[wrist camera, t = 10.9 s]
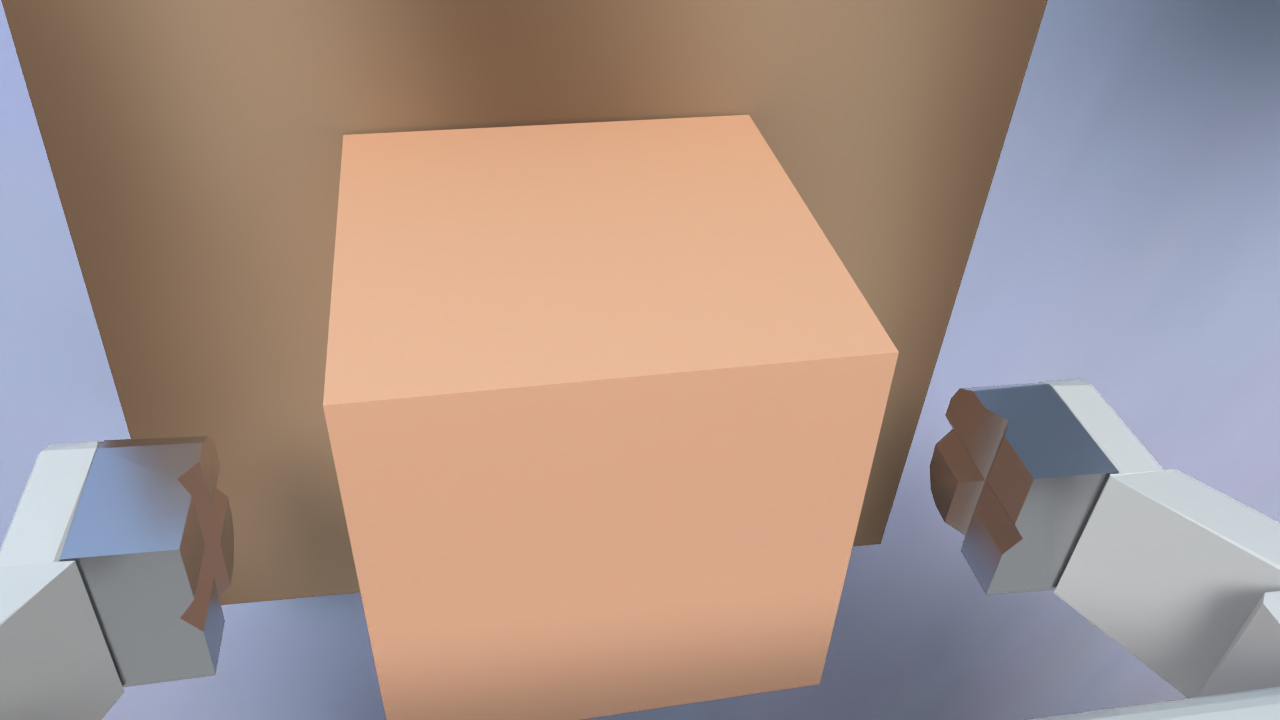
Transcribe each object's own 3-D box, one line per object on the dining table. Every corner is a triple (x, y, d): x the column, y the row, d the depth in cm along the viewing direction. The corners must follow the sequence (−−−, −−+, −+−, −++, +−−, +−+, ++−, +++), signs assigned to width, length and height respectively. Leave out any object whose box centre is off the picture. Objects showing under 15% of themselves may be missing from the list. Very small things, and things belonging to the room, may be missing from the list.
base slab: (956, -241, 15) (1105, -188, 12) (812, 405, 22) (880, 543, 19) (43, -298, 13) (-74, -251, 9) (215, 443, 20) (181, 608, 17)
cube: (749, 114, 13) (898, 352, 9) (717, 412, 16) (820, 684, 12) (343, 134, 12) (323, 405, 8) (390, 445, 15) (391, 748, 12)
